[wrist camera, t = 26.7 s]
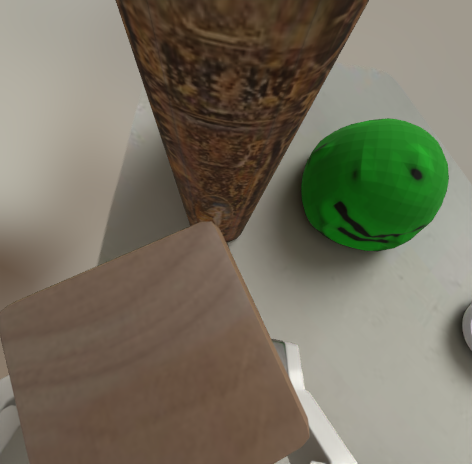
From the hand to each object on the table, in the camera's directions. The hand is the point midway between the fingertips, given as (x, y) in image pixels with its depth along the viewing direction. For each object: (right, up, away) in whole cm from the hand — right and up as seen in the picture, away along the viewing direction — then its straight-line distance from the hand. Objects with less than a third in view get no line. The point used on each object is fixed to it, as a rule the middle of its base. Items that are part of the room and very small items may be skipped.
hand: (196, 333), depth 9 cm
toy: (+15, +8, +21) cm, 27 cm away
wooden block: (-2, -2, +8) cm, 9 cm away
